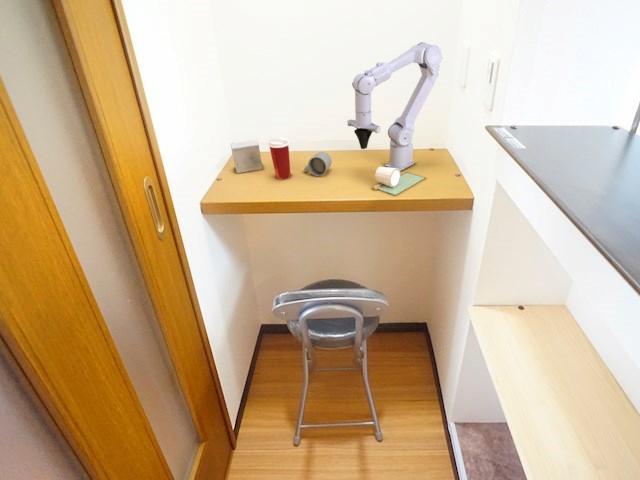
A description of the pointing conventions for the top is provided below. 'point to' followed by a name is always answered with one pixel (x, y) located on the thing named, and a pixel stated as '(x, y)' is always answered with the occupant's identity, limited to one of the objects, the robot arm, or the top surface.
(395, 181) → the beige short cylinder
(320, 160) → the ceramic mug
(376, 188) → the stop batten
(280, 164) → the paper cup
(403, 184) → the mat
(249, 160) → the grey concrete block
